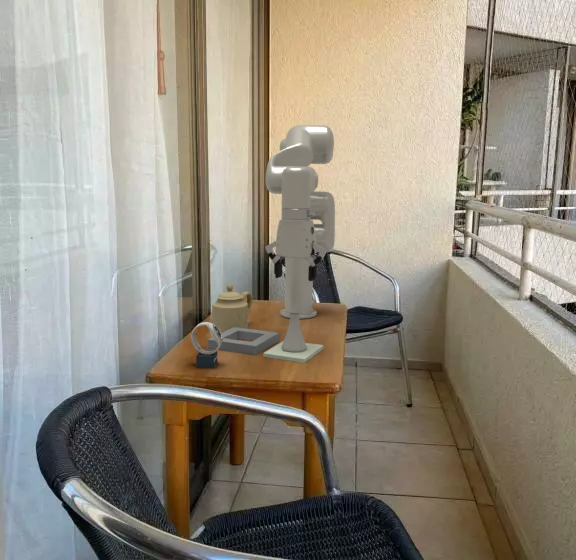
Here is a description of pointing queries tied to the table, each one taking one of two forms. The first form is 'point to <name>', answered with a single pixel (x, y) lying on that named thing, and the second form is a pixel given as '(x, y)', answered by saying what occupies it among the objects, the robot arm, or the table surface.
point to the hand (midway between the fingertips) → (295, 278)
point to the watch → (207, 356)
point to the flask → (294, 335)
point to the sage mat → (293, 353)
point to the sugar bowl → (231, 309)
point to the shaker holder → (258, 338)
